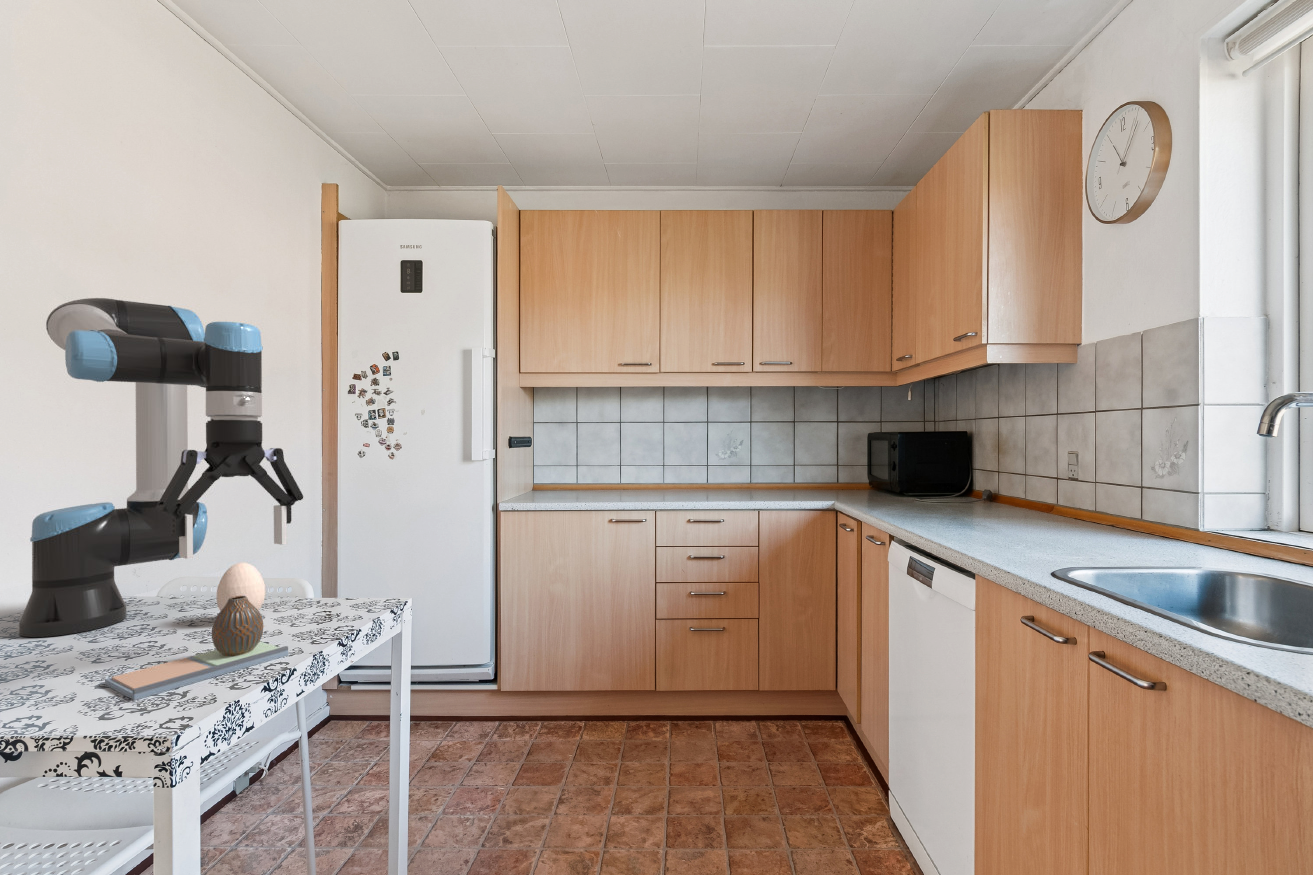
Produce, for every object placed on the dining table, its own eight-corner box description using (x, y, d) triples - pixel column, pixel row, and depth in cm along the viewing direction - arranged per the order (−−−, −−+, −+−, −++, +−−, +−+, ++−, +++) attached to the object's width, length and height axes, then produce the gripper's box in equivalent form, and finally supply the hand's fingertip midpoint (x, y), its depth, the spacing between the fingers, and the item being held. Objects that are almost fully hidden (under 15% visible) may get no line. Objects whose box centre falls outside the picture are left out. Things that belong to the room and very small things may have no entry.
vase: (237, 660, 94) (236, 603, 94) (200, 657, 96) (199, 602, 96) (273, 645, 101) (273, 592, 101) (239, 643, 103) (238, 591, 103)
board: (105, 684, 89) (104, 674, 89) (254, 644, 105) (254, 636, 105) (134, 700, 83) (134, 689, 83) (288, 655, 100) (288, 646, 100)
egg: (273, 618, 122) (272, 561, 122) (228, 628, 115) (227, 568, 115) (253, 612, 126) (253, 557, 126) (209, 622, 119) (208, 564, 119)
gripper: (148, 416, 86) (150, 566, 86) (324, 420, 107) (325, 540, 107) (128, 418, 90) (129, 561, 90) (301, 421, 111) (302, 537, 111)
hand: (236, 550), depth 99 cm, fingers open, 13 cm apart
